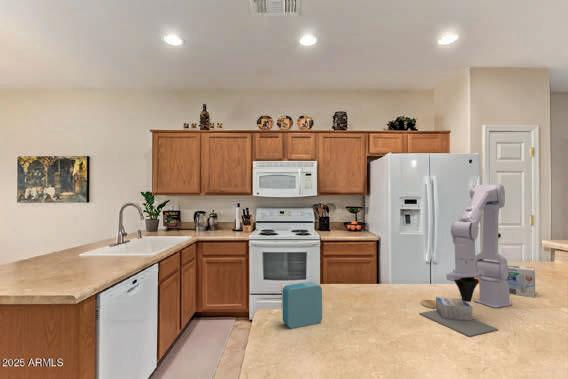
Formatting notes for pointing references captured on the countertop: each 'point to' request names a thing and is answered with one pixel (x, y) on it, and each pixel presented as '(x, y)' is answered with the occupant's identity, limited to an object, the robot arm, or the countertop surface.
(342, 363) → the countertop surface
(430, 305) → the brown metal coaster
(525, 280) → the light bulb box
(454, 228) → the robot arm
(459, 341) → the countertop surface
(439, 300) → the medicine box
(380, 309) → the countertop surface
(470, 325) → the mat
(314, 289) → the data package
